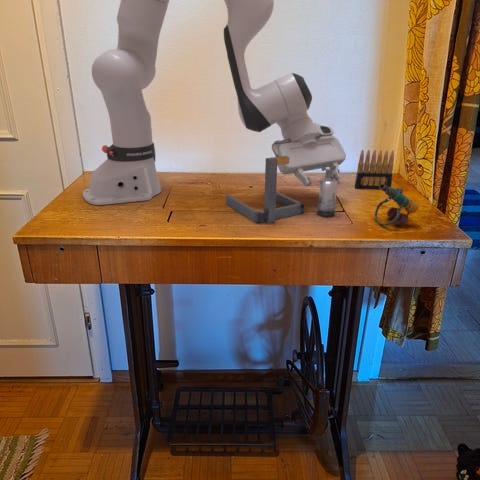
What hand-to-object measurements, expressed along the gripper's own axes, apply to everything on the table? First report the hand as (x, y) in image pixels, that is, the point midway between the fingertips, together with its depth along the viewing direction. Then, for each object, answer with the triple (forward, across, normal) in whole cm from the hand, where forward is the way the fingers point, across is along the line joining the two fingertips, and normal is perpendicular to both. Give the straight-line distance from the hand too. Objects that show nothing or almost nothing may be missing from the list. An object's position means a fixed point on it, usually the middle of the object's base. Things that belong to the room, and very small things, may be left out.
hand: (322, 182), depth 114 cm
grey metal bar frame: (0, -12, +11) cm, 17 cm away
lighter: (-8, +19, +20) cm, 28 cm away
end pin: (+7, 0, +4) cm, 8 cm away
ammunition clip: (+1, +27, +11) cm, 29 cm away
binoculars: (+17, +11, -5) cm, 21 cm away
